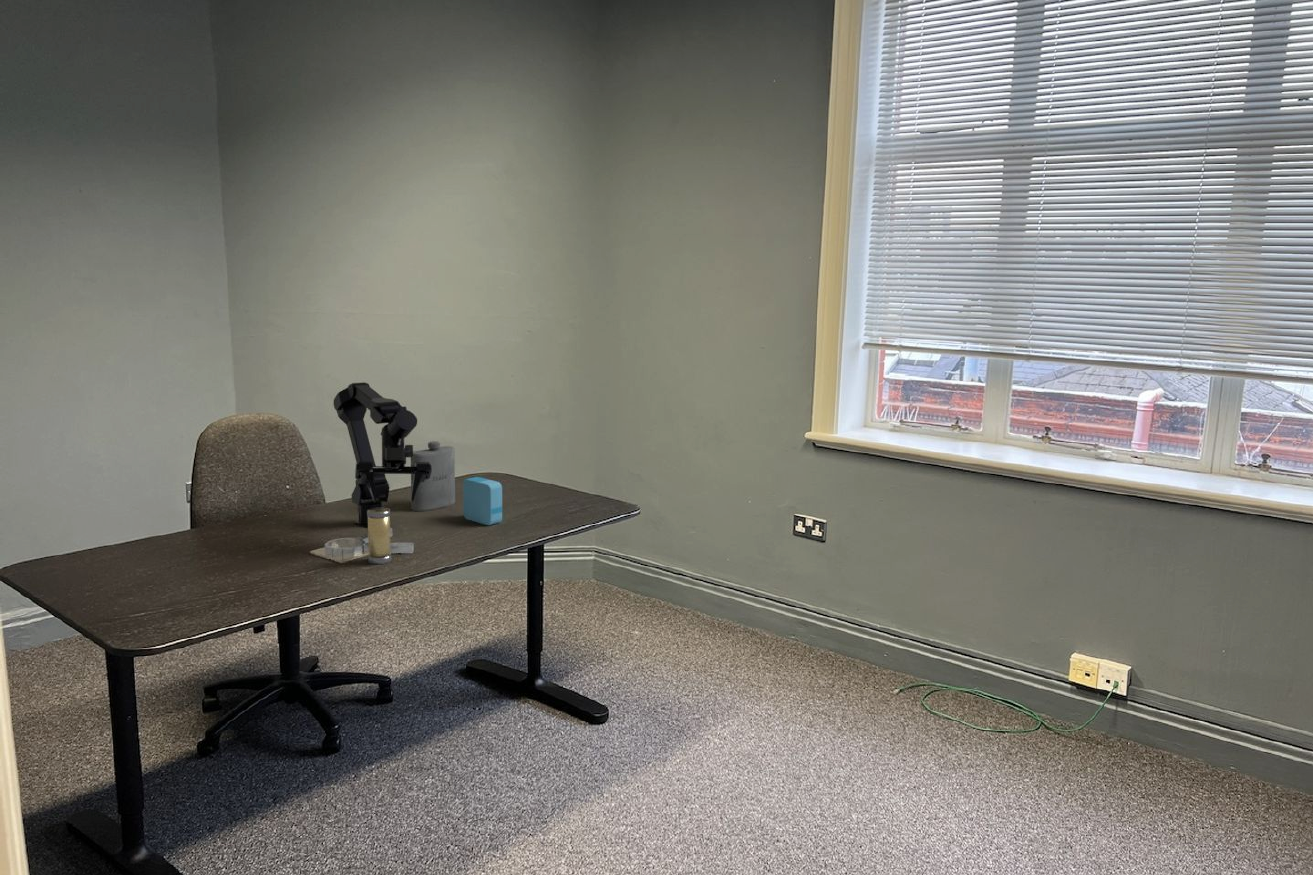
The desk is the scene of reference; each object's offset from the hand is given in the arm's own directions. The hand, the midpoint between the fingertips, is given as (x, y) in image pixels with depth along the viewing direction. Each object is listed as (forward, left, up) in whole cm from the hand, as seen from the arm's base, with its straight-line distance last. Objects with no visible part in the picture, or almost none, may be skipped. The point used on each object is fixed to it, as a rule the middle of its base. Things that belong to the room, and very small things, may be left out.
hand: (394, 501), depth 236 cm
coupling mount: (-4, -4, -13) cm, 14 cm away
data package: (-2, +34, -13) cm, 36 cm away
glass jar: (+4, -8, -13) cm, 16 cm away
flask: (-24, +36, -13) cm, 45 cm away
